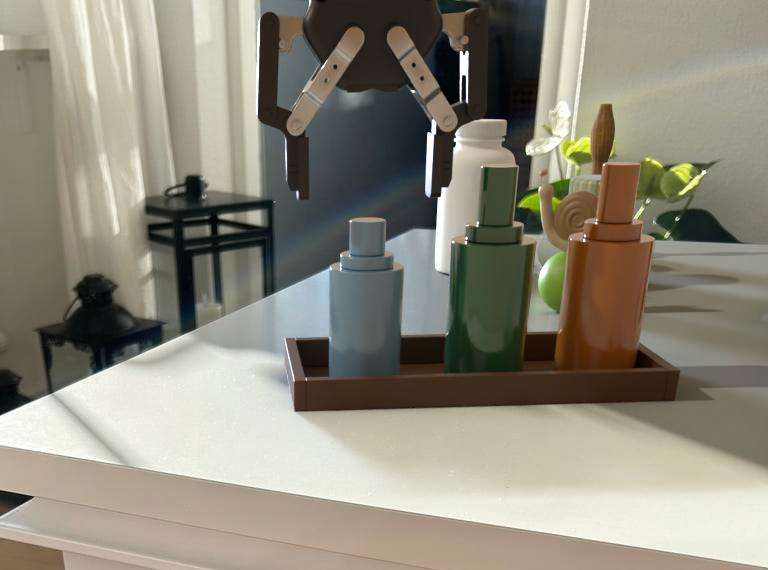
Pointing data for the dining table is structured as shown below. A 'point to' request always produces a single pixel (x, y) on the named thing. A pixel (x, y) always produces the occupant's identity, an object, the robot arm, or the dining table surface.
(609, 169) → the amber bottle
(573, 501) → the dining table surface
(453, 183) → the pill bottle
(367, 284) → the blue bottle
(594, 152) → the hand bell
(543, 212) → the snail figurine
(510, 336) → the green bottle
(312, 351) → the tray
